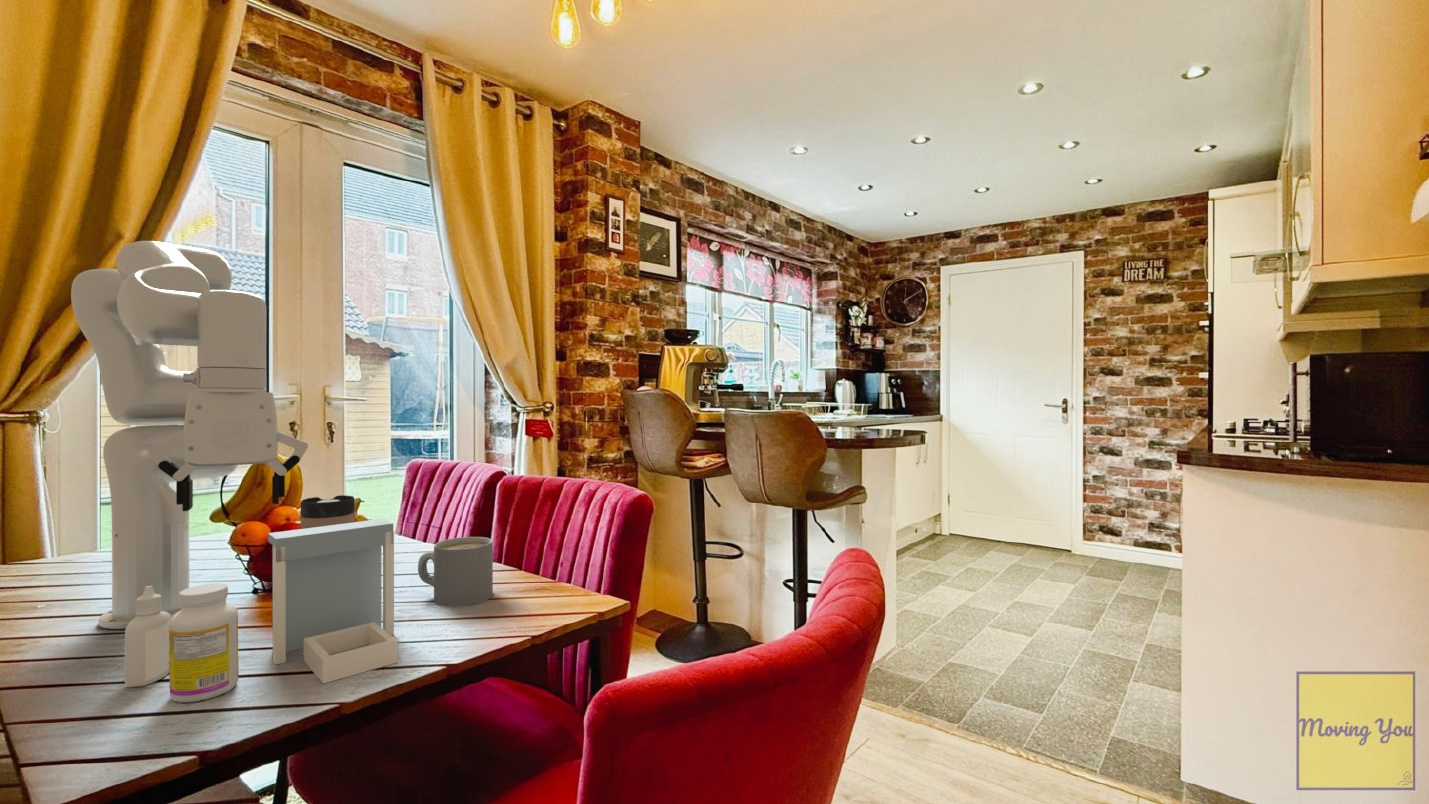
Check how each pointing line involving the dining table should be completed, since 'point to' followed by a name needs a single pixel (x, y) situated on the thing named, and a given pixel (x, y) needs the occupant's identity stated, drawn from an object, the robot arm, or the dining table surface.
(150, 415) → the robot arm
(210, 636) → the supplement bottle
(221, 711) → the dining table surface
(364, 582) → the roller blind
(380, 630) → the socket
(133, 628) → the eye dropper bottle
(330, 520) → the travel mug
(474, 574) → the coffee mug
